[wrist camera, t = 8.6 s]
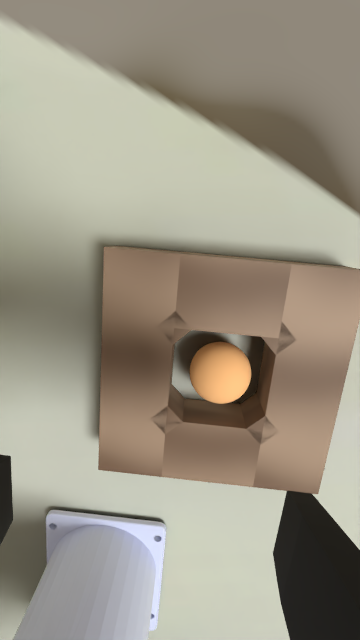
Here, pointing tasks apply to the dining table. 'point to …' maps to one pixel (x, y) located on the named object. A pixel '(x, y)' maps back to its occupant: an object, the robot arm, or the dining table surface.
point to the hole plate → (234, 318)
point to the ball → (220, 372)
